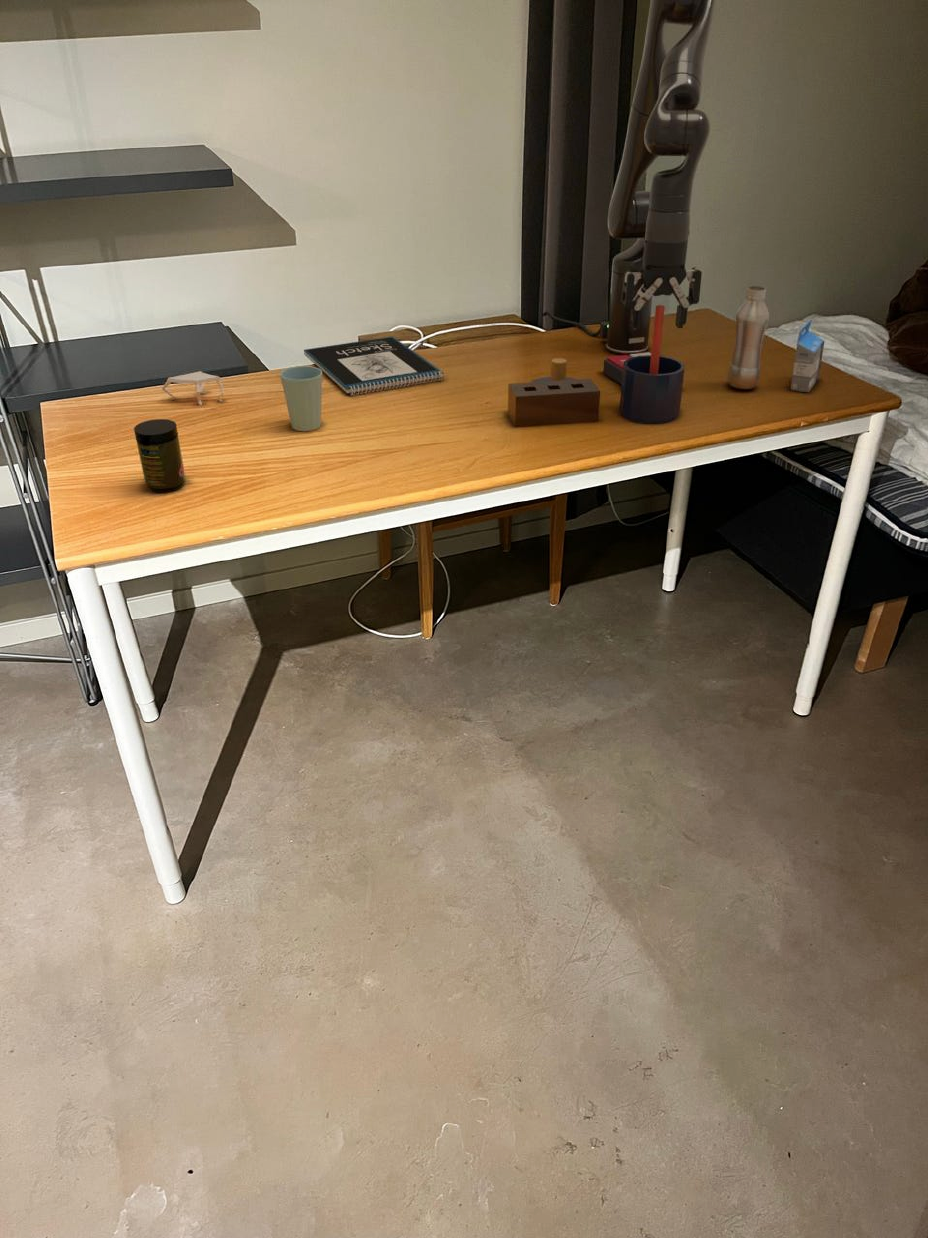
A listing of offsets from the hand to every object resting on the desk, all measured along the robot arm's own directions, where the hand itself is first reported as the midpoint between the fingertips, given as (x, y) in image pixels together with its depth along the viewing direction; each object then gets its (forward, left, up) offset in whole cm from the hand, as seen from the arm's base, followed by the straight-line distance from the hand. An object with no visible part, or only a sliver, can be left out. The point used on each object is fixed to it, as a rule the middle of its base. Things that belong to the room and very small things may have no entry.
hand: (657, 328), depth 183 cm
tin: (0, 0, -16) cm, 16 cm away
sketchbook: (-36, -51, -17) cm, 65 cm away
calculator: (-17, +4, -17) cm, 24 cm away
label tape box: (-9, +36, -17) cm, 41 cm away
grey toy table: (-23, -88, -17) cm, 92 cm away
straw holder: (-1, -19, -16) cm, 25 cm away
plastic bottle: (-10, +23, -17) cm, 30 cm away
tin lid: (-14, -15, -16) cm, 26 cm away
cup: (-5, -66, -17) cm, 68 cm away
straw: (0, 0, -16) cm, 16 cm away
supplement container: (+17, -90, -17) cm, 93 cm away
